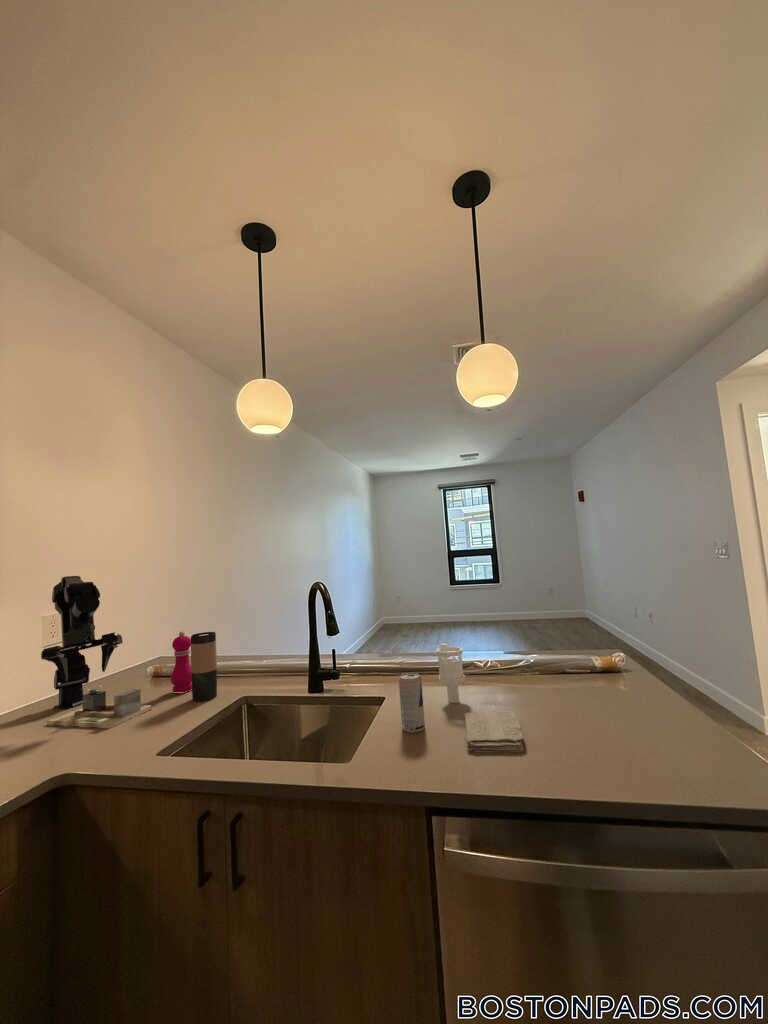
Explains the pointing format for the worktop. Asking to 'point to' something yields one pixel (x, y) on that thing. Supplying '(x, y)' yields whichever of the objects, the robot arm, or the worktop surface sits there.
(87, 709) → the gauge slider
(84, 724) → the gauge board
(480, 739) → the washcloth
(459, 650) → the white stepped column
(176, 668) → the pepper mill
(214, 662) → the travel mug
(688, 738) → the worktop surface
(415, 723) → the energy drink
